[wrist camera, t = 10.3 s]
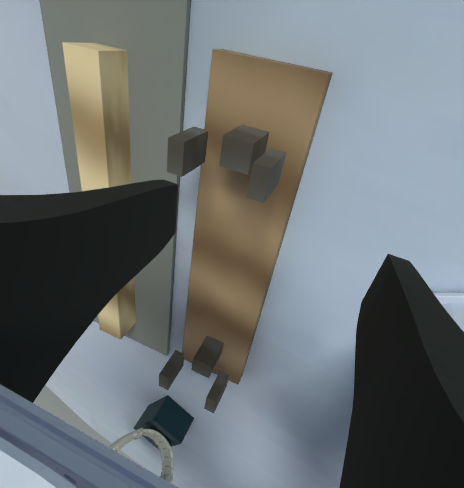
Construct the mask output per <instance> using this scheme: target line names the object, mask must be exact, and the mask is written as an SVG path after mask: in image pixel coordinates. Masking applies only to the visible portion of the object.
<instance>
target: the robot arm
mask: <svg viewBox="0 0 464 488" xmlns="http://www.w3.org/2000/svg"><path fill="white" fill-rule="evenodd" d="M177 201H178V184H176V183H173V182H170V181H167V180H150V181H143V182H137V183H131V184H126V185H120V186H114V187H108V188H101V189H94V190H88V191H81V192H72V193H62V194H47V195H0V488H178V487H176V486H174V485H172V484H171V483H169V482H167V481H166V480H164V479H162V478H160V477H159V476H157V475H155V474H154V473H152V472H150V471H148V470H147V469H145V468H143V467H142V466H140V465H138V464H136V463H135V462H133V461H131V460H130V459H128V458H126V457H124V456H122V455H121V454H119V453H117V452H116V451H114V450H112V449H111V448H109V447H107V446H105V445H104V444H102V443H100V442H99V441H97V440H95V439H93V438H92V437H90V436H88V435H86V434H85V433H83V432H81V431H80V430H78V429H76V428H74V427H73V426H71V425H69V424H67V423H66V422H64V421H63V420H60V419H59V418H57V417H56V416H54V415H52V414H50V413H49V412H47V411H45V410H44V409H42V408H40V407H38V406H36V405H35V404H33V402H34V400H35V399H36V397H37V396H38V394H39V393H40V391H41V390H42V388H43V387H44V386H45V384H46V383H47V381H48V380H49V378H50V377H51V376H52V374H53V373H54V371H55V370H56V368H57V367H58V366H59V364H60V363H61V362H62V360H63V359H64V358H65V356H66V355H67V354H68V352H69V351H70V349H71V348H72V347H73V345H74V344H75V343H76V341H77V340H78V339H79V338H80V336H81V335H82V334H83V333H84V331H85V330H86V329H87V328H88V326H89V325H90V324H91V323H92V321H93V320H94V319H95V318H96V317H97V315H98V314H99V313H100V312H101V311H102V310H103V308H104V307H105V306H106V305H107V304H108V303H109V301H110V300H111V299H112V298H113V297H114V296H115V295H116V294H117V293H118V292H119V291H120V290H121V289H122V288H123V287H124V286H125V285H126V284H127V283H128V282H129V281H131V280H132V279H133V278H134V277H135V276H136V275H137V274H138V273H139V272H140V271H141V270H142V269H143V268H144V267H146V266H147V265H148V264H149V263H150V262H151V261H152V260H153V259H154V258H155V257H156V256H157V255H158V254H159V253H160V252H161V251H162V250H163V248H164V247H165V246H166V245H167V244H168V242H169V241H170V240H171V238H172V237H173V235H174V234H175V233H176V218H177ZM340 488H464V293H433V292H432V291H431V289H430V288H429V287H428V285H427V284H426V282H425V281H424V280H423V278H422V277H421V275H420V274H419V273H418V271H417V270H416V269H415V267H414V266H413V265H412V264H411V262H410V261H408V260H405V259H402V258H399V257H396V256H393V255H390V254H388V255H387V257H386V258H385V260H384V262H383V264H382V266H381V268H380V269H379V271H378V273H377V275H376V277H375V279H374V280H373V282H372V284H371V286H370V288H369V289H368V291H367V293H366V295H365V297H364V299H363V300H362V303H361V308H360V313H359V318H358V323H357V330H356V351H355V379H354V399H353V410H352V416H351V423H350V429H349V436H348V442H347V448H346V454H345V460H344V466H343V471H342V477H341V482H340Z"/></svg>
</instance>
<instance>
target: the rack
mask: <svg viewBox="0 0 464 488" xmlns="http://www.w3.org/2000/svg"><path fill="white" fill-rule="evenodd" d="M331 76H332V73H331V72H327V71H322V70H317V69H313V68H308V67H303V66H298V65H294V64H289V63H284V62H280V61H275V60H270V59H266V58H261V57H256V56H251V55H247V54H242V53H237V52H233V51H228V50H223V49H213V51H212V61H211V71H210V81H209V91H208V101H207V111H206V121H205V130H204V129H200V128H197V127H192V128H189V129H187V130H185V131H182V132H180V133H177V134H175V135H173V136H170V137H168V150H167V172H169V173H172V174H175V175H178V176H181V177H182V176H184V175H185V174H187V173H188V172H190V171H192V170H193V169H195V168H196V167H198V166H199V165H201V170H200V180H199V190H198V200H197V210H196V220H195V230H194V240H193V250H192V260H191V270H190V280H189V290H188V300H187V310H186V320H185V329H184V339H183V349H182V353H181V352H179V351H175V352H174V353H173V355H172V356H171V358H170V359H169V361H168V362H167V364H166V365H165V367H164V368H163V370H162V371H161V372H160V374H159V386H161V387H163V388H165V389H167V390H168V389H169V387H170V386H171V384H172V383H173V381H174V379H175V378H176V376H177V375H178V373H179V371H180V370H181V368H182V367H183V362H184V359H185V360H187V361H189V362H191V363H192V370H193V371H195V372H197V373H199V374H201V375H203V376H205V377H208V378H209V376H210V375H211V373H215V374H217V375H218V376H217V378H216V380H215V382H214V384H213V386H212V388H211V390H210V392H209V394H208V396H207V398H206V403H205V408H204V409H206V410H208V411H210V412H212V413H214V412H215V410H216V408H217V405H218V403H219V401H220V399H221V397H222V395H223V393H224V390H225V388H226V386H227V382H228V380H229V381H231V382H234V383H236V384H239V382H240V379H241V377H242V375H243V371H244V368H245V365H246V361H247V358H248V355H249V351H250V348H251V345H252V341H253V338H254V334H255V331H256V328H257V324H258V321H259V318H260V314H261V311H262V308H263V304H264V301H265V298H266V294H267V291H268V288H269V284H270V281H271V277H272V274H273V271H274V267H275V264H276V261H277V257H278V254H279V251H280V247H281V244H282V241H283V237H284V234H285V230H286V227H287V224H288V220H289V217H290V214H291V210H292V207H293V204H294V200H295V197H296V194H297V190H298V187H299V183H300V180H301V177H302V173H303V170H304V167H305V163H306V160H307V157H308V153H309V150H310V147H311V143H312V140H313V137H314V133H315V130H316V126H317V123H318V120H319V116H320V113H321V110H322V106H323V103H324V100H325V96H326V93H327V90H328V86H329V83H330V79H331Z"/></svg>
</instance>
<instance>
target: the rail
mask: <svg viewBox="0 0 464 488" xmlns="http://www.w3.org/2000/svg"><path fill="white" fill-rule="evenodd" d="M62 45H63V52H64V60H65V67H66V75H67V83H68V90H69V98H70V105H71V113H72V120H73V128H74V136H75V143H76V151H77V158H78V166H79V173H80V181H81V188H82V191H88V190H94V189H101V188H108V187H114V186H120V185H126V184H131V154H130V123H129V93H128V62H127V50H123V49H118V48H114V47H110V46H105V45H101V44H97V43H74V42H62ZM98 317H99V325H100V330H102V331H104V332H106V333H108V334H110V335H112V336H114V337H117V338H119V339H122V337H123V336H124V335H125V334H126V333H127V332H128V331H129V330H130V329H131V327H132V326H133V325H134V324H135V323H136V308H135V277H134V278H133V279H132V280H131V281H129V282H128V283H127V284H126V285H125V286H124V287H123V288H122V289H121V290H120V291H119V292H118V293H117V294H116V295H115V296H114V297H113V298H112V299H111V300H110V301H109V303H108V304H107V305H106V306H105V307H104V308H103V310H102V311H101V312H100V313H99V314H98Z"/></svg>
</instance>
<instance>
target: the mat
mask: <svg viewBox="0 0 464 488" xmlns="http://www.w3.org/2000/svg"><path fill="white" fill-rule="evenodd" d="M39 1H40V7H41V13H42V20H43V26H44V32H45V39H46V45H47V51H48V58H49V64H50V71H51V77H52V83H53V90H54V96H55V102H56V109H57V115H58V121H59V128H60V134H61V141H62V147H63V153H64V160H65V166H66V172H67V179H68V185H69V191H70V193H72V192H81V191H82V188H81V181H80V173H79V166H78V158H77V151H76V143H75V136H74V128H73V120H72V113H71V105H70V98H69V90H68V83H67V75H66V67H65V60H64V52H63V45H62V42H74V43H97V44H101V45H105V46H110V47H114V48H118V49H123V50H127V62H128V93H129V123H130V154H131V183H137V182H143V181H150V180H167V181H170V182H173V183H176V184H178V199H179V183H180V176H178V175H175V174H172V173H169V172H167V150H168V137H170V136H173V135H175V134H177V133H180V132H182V131H183V118H184V102H185V86H186V70H187V54H188V37H189V21H190V5H191V0H39ZM177 215H178V201H177ZM176 232H177V218H176ZM175 248H176V233H175V234H174V235H173V237H172V238H171V240H170V241H169V242H168V244H167V245H166V246H165V247H164V248H163V250H162V251H161V252H160V253H159V254H158V255H157V256H156V257H155V258H154V259H153V260H152V261H151V262H150V263H149V264H148V265H147V266H146V267H144V268H143V269H142V270H141V271H140V272H139V273H138V274H137V275H136V276H135V308H136V323H135V324H134V325H133V326H132V327H131V329H130V330H129V331H128V332H127V333H126V334H125V336H127V337H129V338H131V339H133V340H135V341H137V342H139V343H141V344H143V345H145V346H148V347H150V348H152V349H154V350H156V351H158V352H160V353H162V354H164V355H166V356H167V355H168V354H169V345H170V329H171V313H172V296H173V280H174V264H175ZM93 321H95V322H97V323H99V317H98V315H97V317H96V318H95V319H94V320H93Z"/></svg>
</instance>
